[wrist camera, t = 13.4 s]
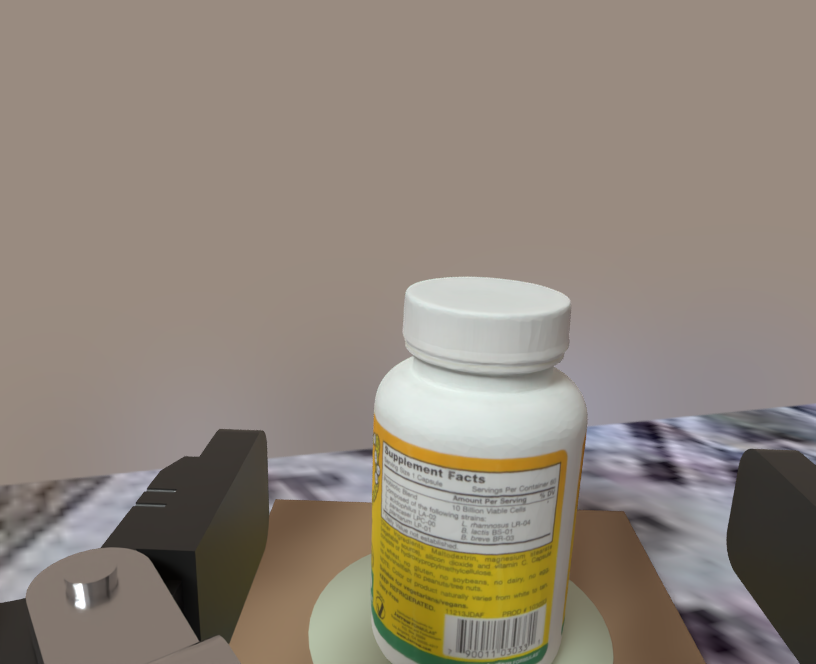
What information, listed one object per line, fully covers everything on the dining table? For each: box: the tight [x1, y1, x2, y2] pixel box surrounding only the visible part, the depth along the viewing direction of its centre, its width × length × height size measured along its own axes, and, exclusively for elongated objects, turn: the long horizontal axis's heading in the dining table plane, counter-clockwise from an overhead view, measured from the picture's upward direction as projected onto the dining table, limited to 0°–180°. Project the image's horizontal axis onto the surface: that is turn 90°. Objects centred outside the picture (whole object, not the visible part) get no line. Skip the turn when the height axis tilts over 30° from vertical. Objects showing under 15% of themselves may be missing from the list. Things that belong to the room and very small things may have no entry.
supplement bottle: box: [371, 277, 587, 664], centre depth 18 cm, size 5×5×10 cm
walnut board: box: [229, 499, 706, 664], centre depth 20 cm, size 13×13×1 cm
